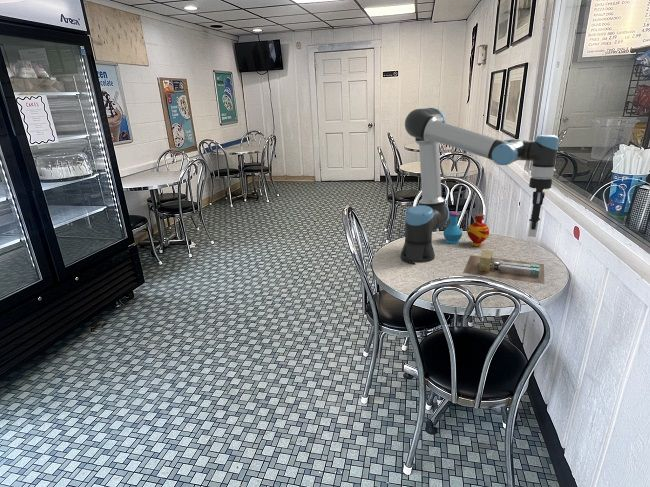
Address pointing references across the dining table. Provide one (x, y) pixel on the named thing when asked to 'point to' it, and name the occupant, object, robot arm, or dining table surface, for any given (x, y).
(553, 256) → the dining table surface
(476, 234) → the red yellow vase
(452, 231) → the blue vase
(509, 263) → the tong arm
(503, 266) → the tongs fixed arm
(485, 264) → the translucent yellow block
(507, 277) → the walnut board
